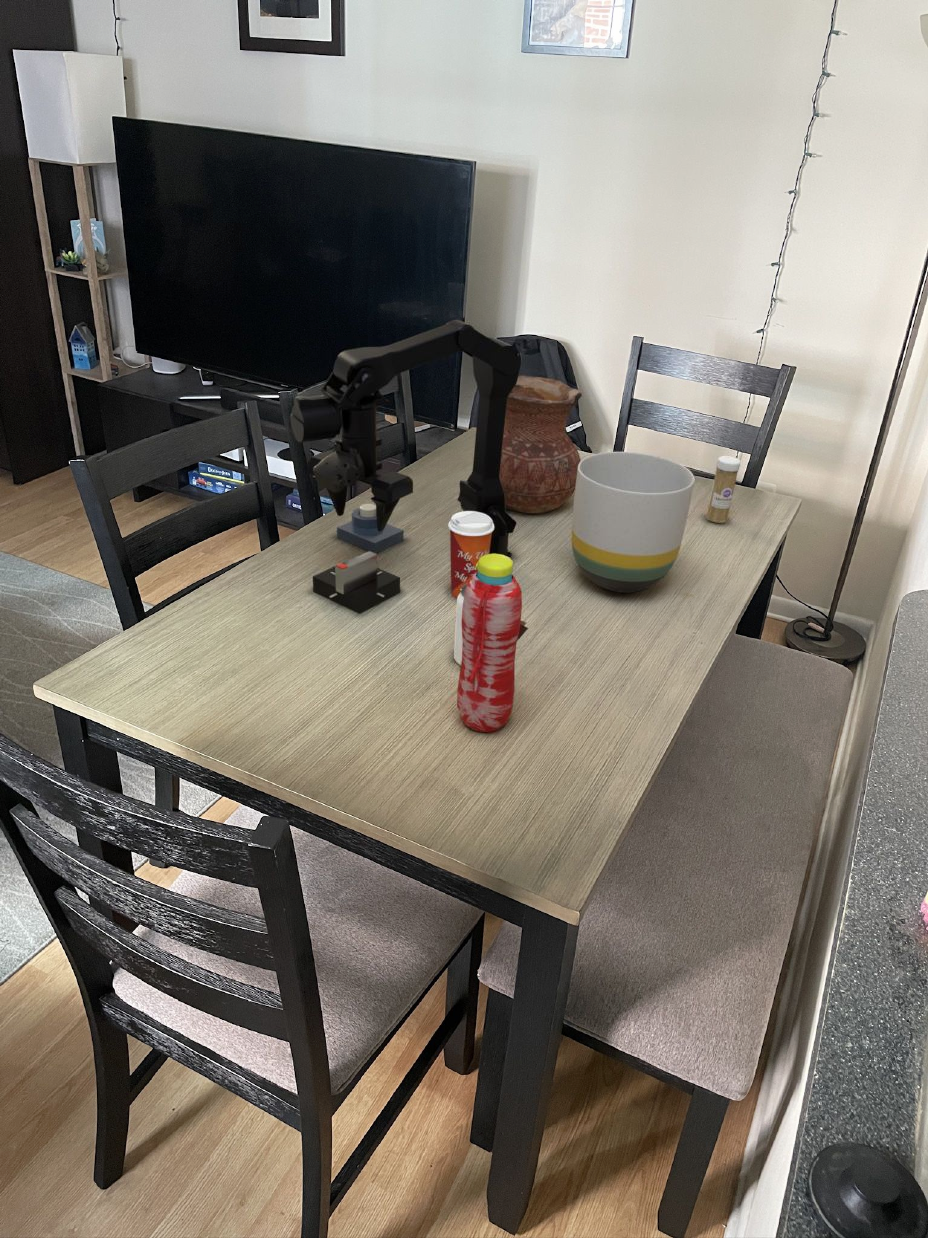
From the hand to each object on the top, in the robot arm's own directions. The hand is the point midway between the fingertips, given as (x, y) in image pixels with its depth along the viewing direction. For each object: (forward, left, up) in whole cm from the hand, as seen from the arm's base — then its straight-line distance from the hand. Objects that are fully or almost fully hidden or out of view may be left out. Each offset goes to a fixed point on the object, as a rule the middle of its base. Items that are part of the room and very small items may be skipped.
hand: (360, 522), depth 150 cm
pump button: (+14, -16, -8) cm, 23 cm away
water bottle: (-40, +16, -12) cm, 44 cm away
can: (-30, +6, -12) cm, 32 cm away
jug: (0, -51, -12) cm, 52 cm away
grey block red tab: (-4, +5, -8) cm, 10 cm away
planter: (-33, -32, -12) cm, 48 cm away
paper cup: (-16, -10, -12) cm, 22 cm away
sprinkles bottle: (-34, -72, -12) cm, 81 cm away
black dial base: (-3, +4, -12) cm, 13 cm away
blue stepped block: (+11, -14, -12) cm, 21 cm away
